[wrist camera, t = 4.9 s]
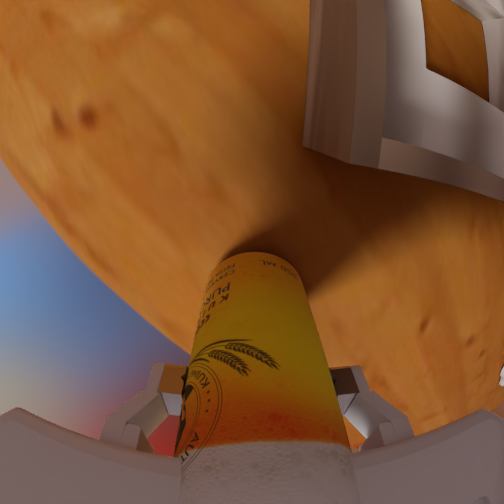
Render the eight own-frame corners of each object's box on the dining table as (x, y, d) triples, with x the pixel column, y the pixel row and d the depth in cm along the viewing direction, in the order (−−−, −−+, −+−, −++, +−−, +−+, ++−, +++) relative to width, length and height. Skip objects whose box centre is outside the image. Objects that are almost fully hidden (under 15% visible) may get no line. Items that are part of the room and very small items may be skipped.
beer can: (210, 239, 16) (146, 545, 2) (311, 252, 16) (411, 521, 3) (204, 319, 18) (173, 544, 5) (289, 328, 19) (324, 542, 5)
